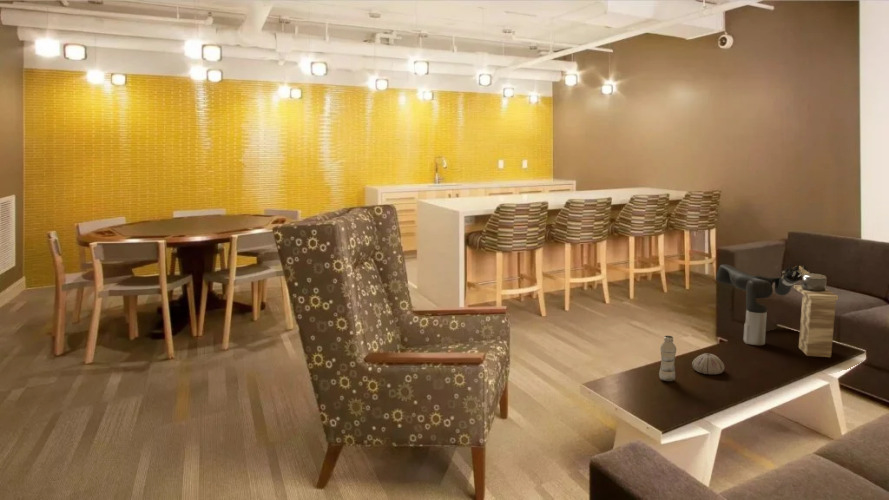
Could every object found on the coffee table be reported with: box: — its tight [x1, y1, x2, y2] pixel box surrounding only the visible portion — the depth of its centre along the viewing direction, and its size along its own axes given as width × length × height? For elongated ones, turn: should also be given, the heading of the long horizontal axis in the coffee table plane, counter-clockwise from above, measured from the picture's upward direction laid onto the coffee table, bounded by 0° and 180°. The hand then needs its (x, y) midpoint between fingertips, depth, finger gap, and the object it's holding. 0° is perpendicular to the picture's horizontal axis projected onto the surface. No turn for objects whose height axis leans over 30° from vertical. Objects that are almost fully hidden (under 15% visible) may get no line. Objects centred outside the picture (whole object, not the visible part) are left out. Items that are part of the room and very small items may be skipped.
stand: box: [793, 284, 839, 358], centre depth 269 cm, size 22×12×30 cm, turn 164°
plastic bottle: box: [658, 335, 677, 382], centre depth 238 cm, size 6×7×20 cm
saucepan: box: [797, 265, 828, 292], centre depth 277 cm, size 29×10×7 cm, turn 164°
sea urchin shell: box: [691, 352, 725, 376], centre depth 248 cm, size 13×14×8 cm
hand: (801, 267), depth 285 cm, fingers closed on saucepan, 2 cm apart
